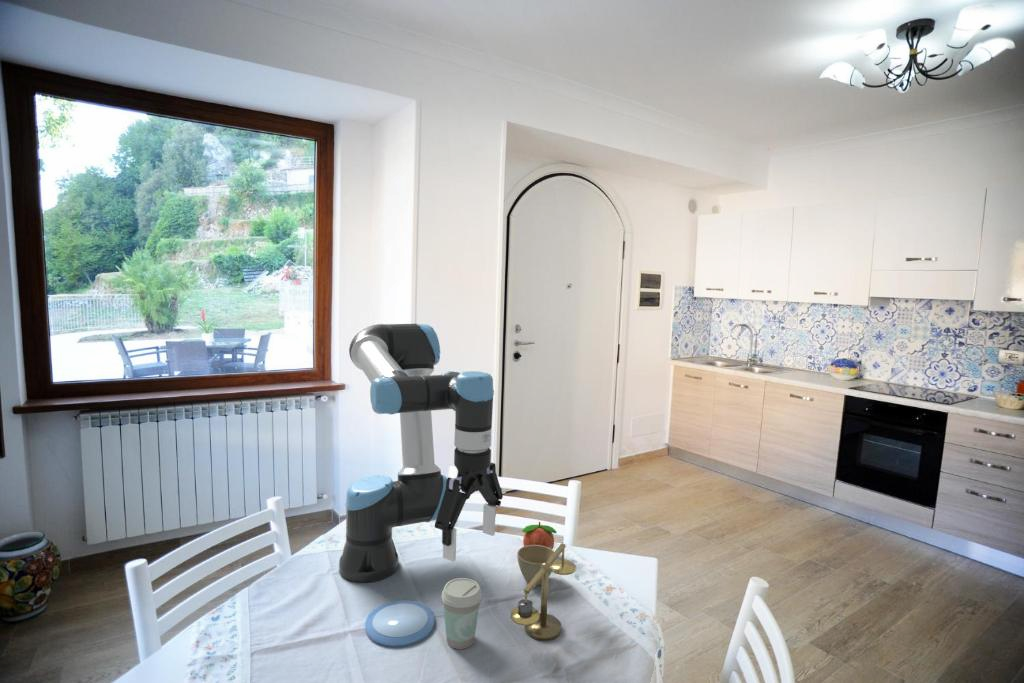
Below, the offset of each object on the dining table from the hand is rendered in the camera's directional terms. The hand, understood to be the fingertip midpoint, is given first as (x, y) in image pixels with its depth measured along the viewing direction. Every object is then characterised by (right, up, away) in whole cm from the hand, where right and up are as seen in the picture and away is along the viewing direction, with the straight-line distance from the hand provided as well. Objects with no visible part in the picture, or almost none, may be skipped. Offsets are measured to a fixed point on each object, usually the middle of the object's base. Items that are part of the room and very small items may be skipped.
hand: (469, 545), depth 117 cm
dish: (-16, -20, +6) cm, 26 cm away
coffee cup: (-2, -21, +2) cm, 21 cm away
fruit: (+16, -17, +39) cm, 46 cm away
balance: (+16, -21, +7) cm, 27 cm away
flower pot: (+15, -19, +26) cm, 36 cm away
